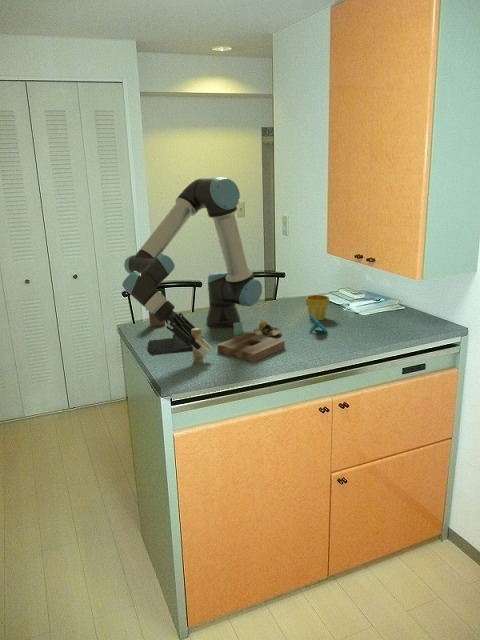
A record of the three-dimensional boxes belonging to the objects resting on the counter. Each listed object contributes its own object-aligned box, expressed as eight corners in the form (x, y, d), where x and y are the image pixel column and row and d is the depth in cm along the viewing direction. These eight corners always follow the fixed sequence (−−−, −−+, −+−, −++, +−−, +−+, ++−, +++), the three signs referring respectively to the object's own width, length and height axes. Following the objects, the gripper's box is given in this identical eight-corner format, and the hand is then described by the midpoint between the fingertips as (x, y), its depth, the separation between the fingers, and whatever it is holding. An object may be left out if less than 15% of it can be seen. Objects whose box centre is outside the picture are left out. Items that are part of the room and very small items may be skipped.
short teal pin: (232, 340, 207) (231, 323, 205) (238, 338, 210) (237, 321, 208) (238, 342, 205) (238, 325, 203) (244, 339, 207) (244, 323, 205)
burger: (268, 341, 204) (268, 323, 202) (246, 336, 212) (246, 318, 210) (287, 334, 213) (287, 316, 211) (265, 329, 220) (264, 312, 218)
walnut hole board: (217, 351, 195) (217, 344, 194) (249, 339, 207) (248, 332, 206) (253, 362, 183) (253, 354, 182) (284, 348, 196) (284, 340, 195)
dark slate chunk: (146, 344, 208) (145, 333, 207) (200, 338, 213) (199, 327, 211) (149, 357, 194) (148, 345, 192) (207, 350, 198) (206, 338, 197)
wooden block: (150, 327, 229) (147, 294, 225) (149, 325, 232) (146, 292, 228) (165, 325, 231) (162, 292, 227) (164, 323, 234) (161, 291, 230)
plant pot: (332, 316, 233) (333, 295, 230) (323, 322, 225) (323, 301, 222) (311, 314, 238) (311, 293, 236) (302, 320, 230) (301, 298, 227)
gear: (330, 332, 206) (312, 315, 206) (319, 342, 207) (301, 326, 207) (327, 327, 217) (310, 311, 217) (317, 337, 218) (300, 321, 217)
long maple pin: (191, 361, 186) (189, 330, 183) (198, 358, 189) (196, 327, 185) (198, 363, 184) (196, 331, 180) (205, 360, 186) (203, 329, 183)
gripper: (160, 308, 192) (206, 350, 194) (145, 321, 176) (196, 367, 178) (173, 294, 189) (219, 337, 191) (159, 306, 174) (210, 353, 176)
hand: (208, 351), depth 185 cm, fingers closed on long maple pin, 3 cm apart
